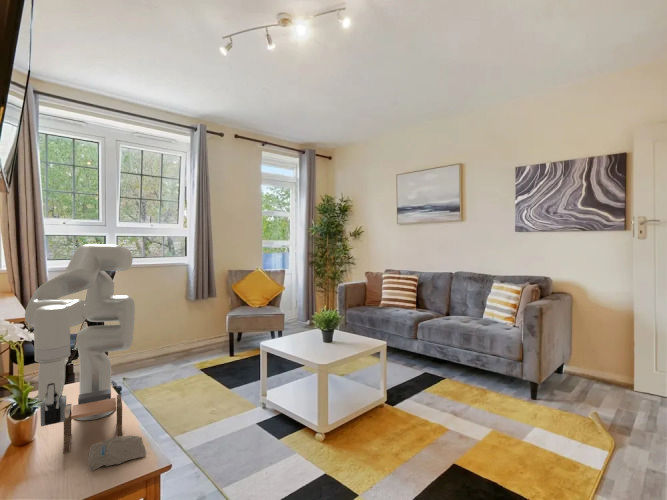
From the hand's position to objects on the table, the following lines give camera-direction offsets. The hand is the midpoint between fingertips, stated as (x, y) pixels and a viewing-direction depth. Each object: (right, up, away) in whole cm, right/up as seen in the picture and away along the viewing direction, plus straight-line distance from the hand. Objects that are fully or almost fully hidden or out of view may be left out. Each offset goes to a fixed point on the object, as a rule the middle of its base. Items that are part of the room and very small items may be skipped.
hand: (54, 417), depth 96 cm
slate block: (0, -1, 0) cm, 1 cm away
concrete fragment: (+13, -16, +7) cm, 22 cm away
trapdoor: (-3, -7, +20) cm, 21 cm away
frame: (-1, -15, +17) cm, 23 cm away
